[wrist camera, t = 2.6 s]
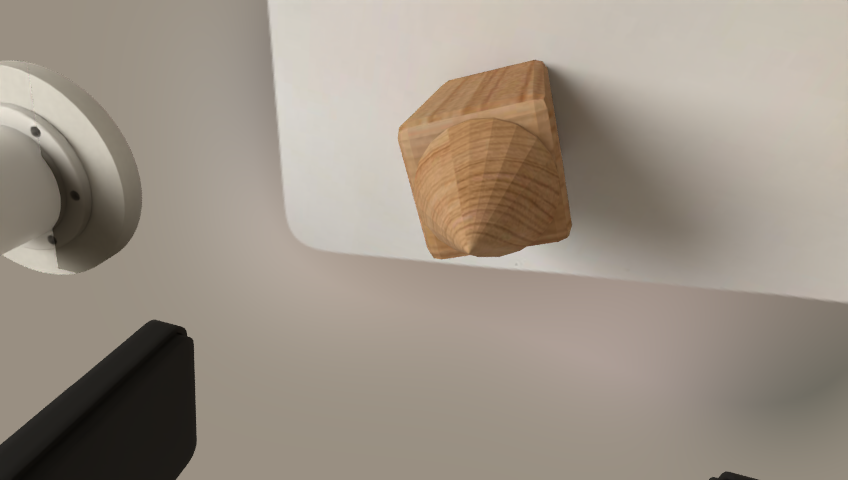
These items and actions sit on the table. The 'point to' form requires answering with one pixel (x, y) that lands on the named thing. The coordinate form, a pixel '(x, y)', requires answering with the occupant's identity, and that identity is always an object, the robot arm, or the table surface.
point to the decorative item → (488, 164)
